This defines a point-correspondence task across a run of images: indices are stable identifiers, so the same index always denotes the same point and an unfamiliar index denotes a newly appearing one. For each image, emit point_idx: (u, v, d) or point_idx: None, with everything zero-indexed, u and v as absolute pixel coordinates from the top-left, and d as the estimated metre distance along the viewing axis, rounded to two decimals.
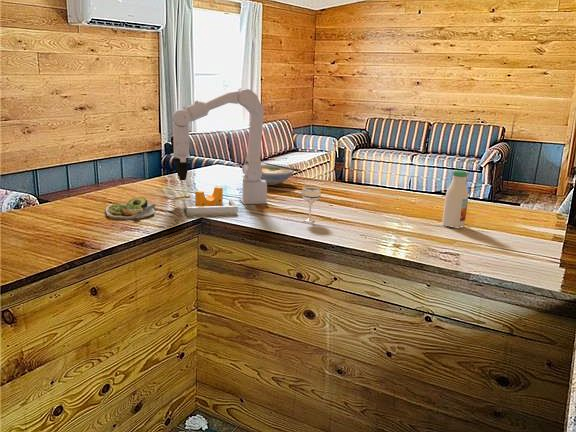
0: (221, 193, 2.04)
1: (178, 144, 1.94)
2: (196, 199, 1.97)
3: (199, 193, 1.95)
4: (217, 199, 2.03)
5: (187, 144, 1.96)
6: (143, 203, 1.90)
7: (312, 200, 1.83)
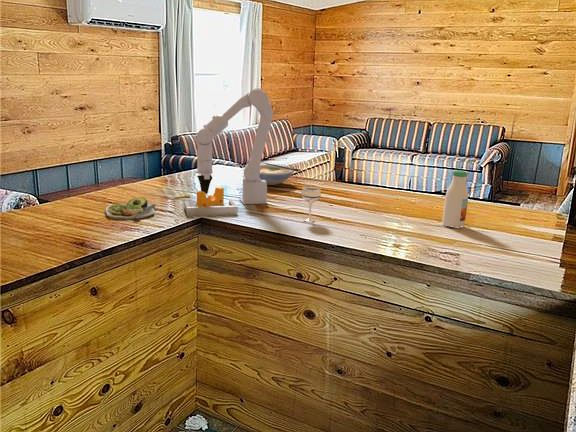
0: (223, 193, 2.04)
1: (202, 161, 2.02)
2: (197, 199, 1.96)
3: (200, 193, 1.95)
4: (218, 199, 2.03)
5: (210, 161, 2.04)
6: (143, 203, 1.90)
7: (312, 200, 1.83)
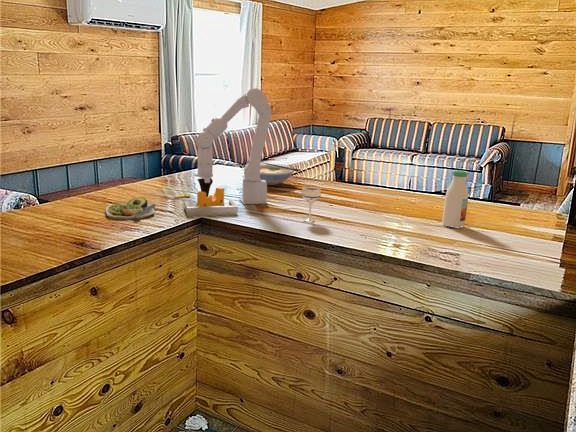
0: (223, 193, 2.04)
1: (202, 165, 2.02)
2: (198, 200, 1.96)
3: (201, 194, 1.94)
4: (219, 199, 2.02)
5: (211, 165, 2.04)
6: (143, 203, 1.89)
7: (312, 200, 1.83)
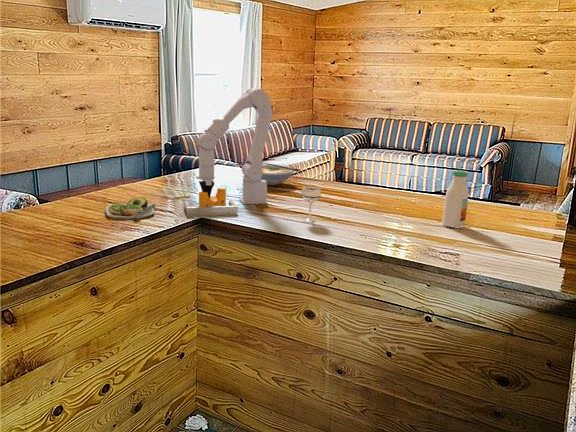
0: (225, 193, 2.03)
1: (204, 167, 1.98)
2: (200, 200, 1.95)
3: (203, 194, 1.94)
4: (220, 200, 2.02)
5: (212, 167, 1.99)
6: (143, 203, 1.89)
7: (312, 200, 1.83)
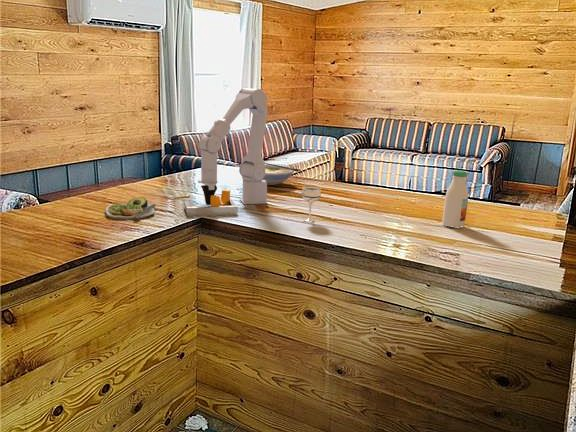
0: (229, 195, 2.01)
1: (206, 171, 1.91)
2: (212, 204, 1.91)
3: (216, 197, 1.90)
4: (227, 202, 1.99)
5: (215, 171, 1.92)
6: (143, 203, 1.89)
7: (312, 200, 1.83)
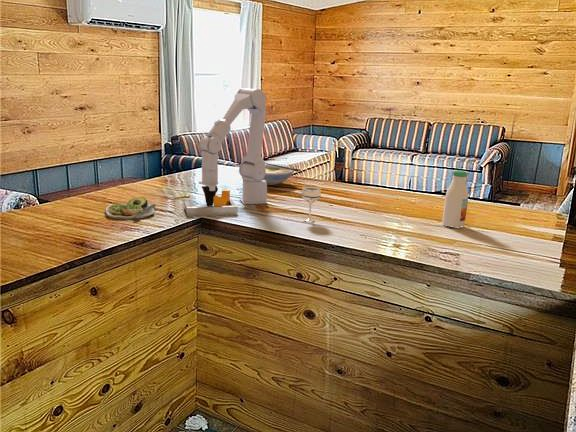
0: (229, 195, 2.01)
1: (207, 172, 1.89)
2: (215, 204, 1.90)
3: (219, 198, 1.89)
4: (227, 202, 1.99)
5: (216, 172, 1.91)
6: (143, 203, 1.89)
7: (312, 200, 1.83)
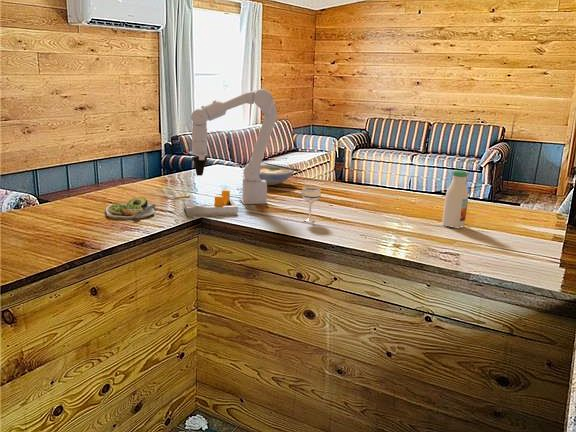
0: (229, 195, 2.01)
1: (197, 142, 2.01)
2: (216, 204, 1.90)
3: (220, 198, 1.89)
4: (227, 202, 1.99)
5: (205, 142, 2.02)
6: (143, 203, 1.89)
7: (312, 200, 1.83)
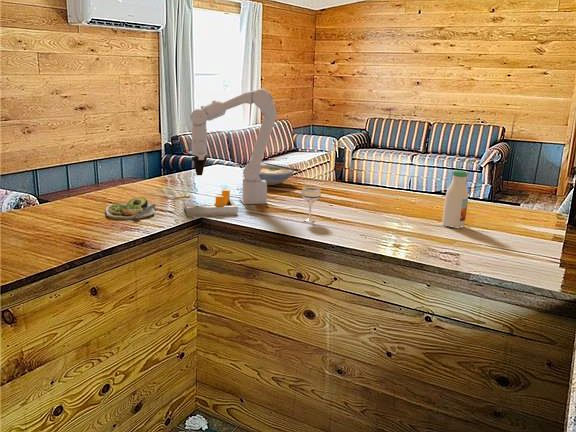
0: (229, 195, 2.01)
1: (196, 142, 2.01)
2: (217, 204, 1.90)
3: (221, 198, 1.89)
4: (228, 202, 1.99)
5: (205, 142, 2.03)
6: (143, 203, 1.89)
7: (312, 200, 1.83)
